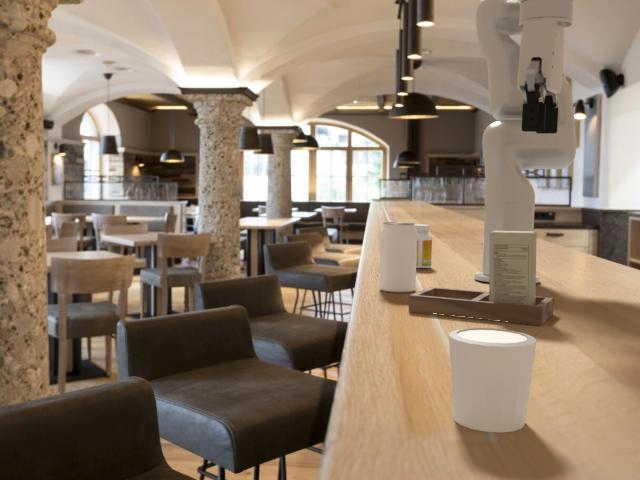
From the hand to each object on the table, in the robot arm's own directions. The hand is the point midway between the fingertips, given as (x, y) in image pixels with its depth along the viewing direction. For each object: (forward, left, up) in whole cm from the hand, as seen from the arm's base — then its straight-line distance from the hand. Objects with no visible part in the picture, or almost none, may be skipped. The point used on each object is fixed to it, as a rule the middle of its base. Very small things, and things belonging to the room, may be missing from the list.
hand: (539, 132), depth 107 cm
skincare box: (+8, -2, -27) cm, 28 cm away
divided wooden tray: (+8, -6, -27) cm, 29 cm away
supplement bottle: (-41, -32, -27) cm, 59 cm away
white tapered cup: (+55, +7, -27) cm, 62 cm away
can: (-6, -24, -27) cm, 37 cm away
